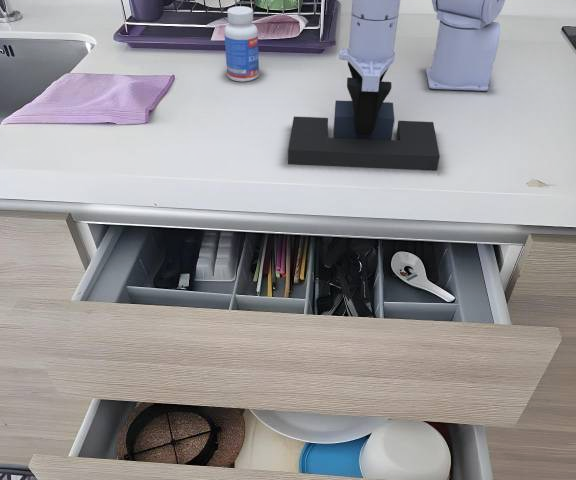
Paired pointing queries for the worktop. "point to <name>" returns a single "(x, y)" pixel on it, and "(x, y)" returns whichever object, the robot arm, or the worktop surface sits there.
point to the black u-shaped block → (364, 146)
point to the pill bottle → (241, 45)
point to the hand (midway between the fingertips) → (363, 124)
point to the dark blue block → (346, 123)
